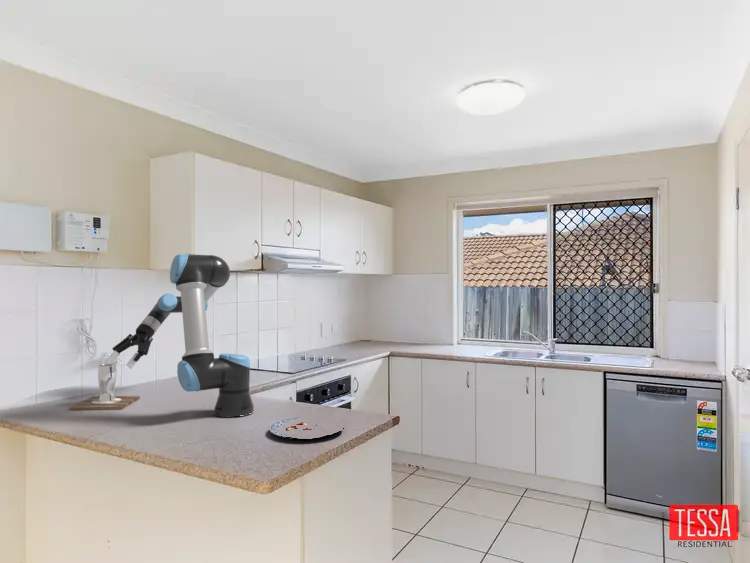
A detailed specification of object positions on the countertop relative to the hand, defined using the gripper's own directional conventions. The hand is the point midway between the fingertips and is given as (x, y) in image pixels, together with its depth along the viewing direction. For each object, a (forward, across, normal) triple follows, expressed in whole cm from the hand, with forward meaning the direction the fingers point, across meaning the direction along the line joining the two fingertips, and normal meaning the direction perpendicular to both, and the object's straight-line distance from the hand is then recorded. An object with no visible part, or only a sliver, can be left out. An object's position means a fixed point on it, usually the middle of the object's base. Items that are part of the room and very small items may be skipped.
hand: (118, 365), depth 218 cm
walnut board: (+15, 0, -7) cm, 16 cm away
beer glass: (+14, -1, -6) cm, 15 cm away
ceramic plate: (+11, -98, -12) cm, 99 cm away
